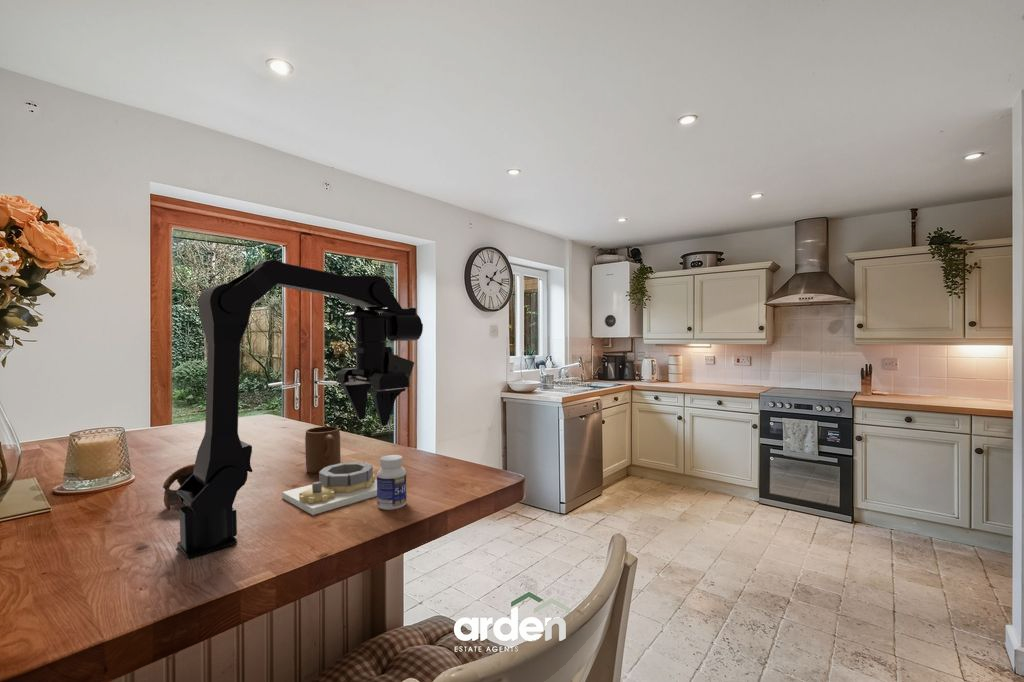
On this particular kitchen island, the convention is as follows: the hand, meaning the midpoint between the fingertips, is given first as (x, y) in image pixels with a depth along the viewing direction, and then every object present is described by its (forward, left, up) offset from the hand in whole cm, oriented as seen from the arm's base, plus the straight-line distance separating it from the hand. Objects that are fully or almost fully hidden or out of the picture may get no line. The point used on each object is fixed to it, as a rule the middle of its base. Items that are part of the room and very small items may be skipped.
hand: (372, 422), depth 93 cm
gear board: (-4, +6, -15) cm, 16 cm away
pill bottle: (0, -7, -15) cm, 16 cm away
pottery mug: (-24, +24, -15) cm, 37 cm away
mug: (+2, +23, -15) cm, 28 cm away
